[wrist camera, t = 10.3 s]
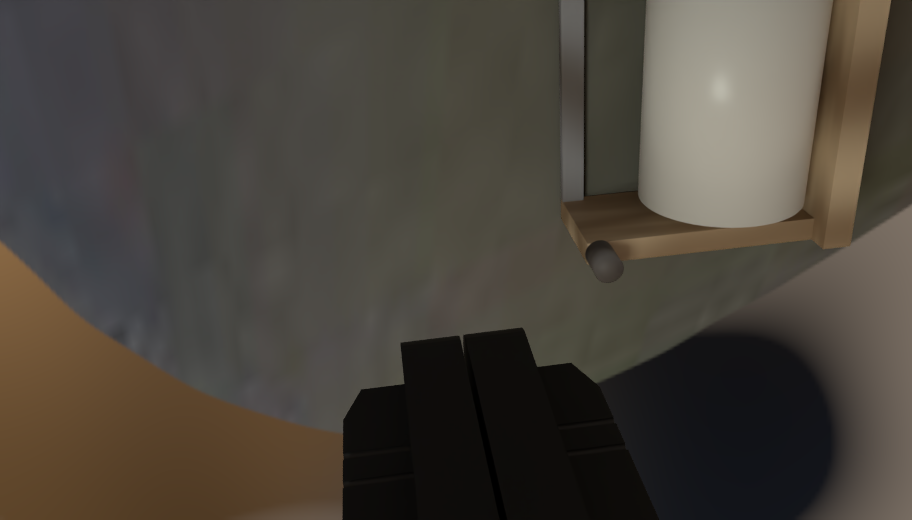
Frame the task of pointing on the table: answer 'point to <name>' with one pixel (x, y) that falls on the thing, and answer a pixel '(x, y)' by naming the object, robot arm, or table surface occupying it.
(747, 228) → the oak cradle
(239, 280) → the table surface
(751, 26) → the paper roll
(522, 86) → the table surface
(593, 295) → the table surface
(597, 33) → the table surface
